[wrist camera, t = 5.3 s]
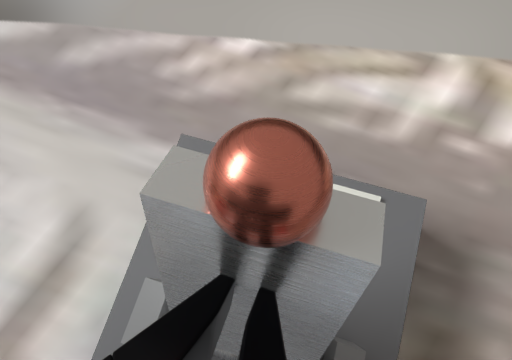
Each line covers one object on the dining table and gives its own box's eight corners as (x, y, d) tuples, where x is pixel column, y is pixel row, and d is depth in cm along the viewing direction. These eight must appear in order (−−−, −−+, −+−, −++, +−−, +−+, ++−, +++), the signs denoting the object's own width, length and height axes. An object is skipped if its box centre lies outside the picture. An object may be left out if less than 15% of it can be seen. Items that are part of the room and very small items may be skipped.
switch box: (328, 561, 16) (359, 728, 10) (87, 457, 18) (-15, 544, 12) (399, 217, 20) (450, 184, 14) (198, 161, 22) (166, 110, 16)
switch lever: (303, 408, 13) (441, 238, 5) (165, 357, 14) (89, 139, 6) (316, 340, 15) (435, 128, 7) (192, 298, 16) (163, 63, 8)
